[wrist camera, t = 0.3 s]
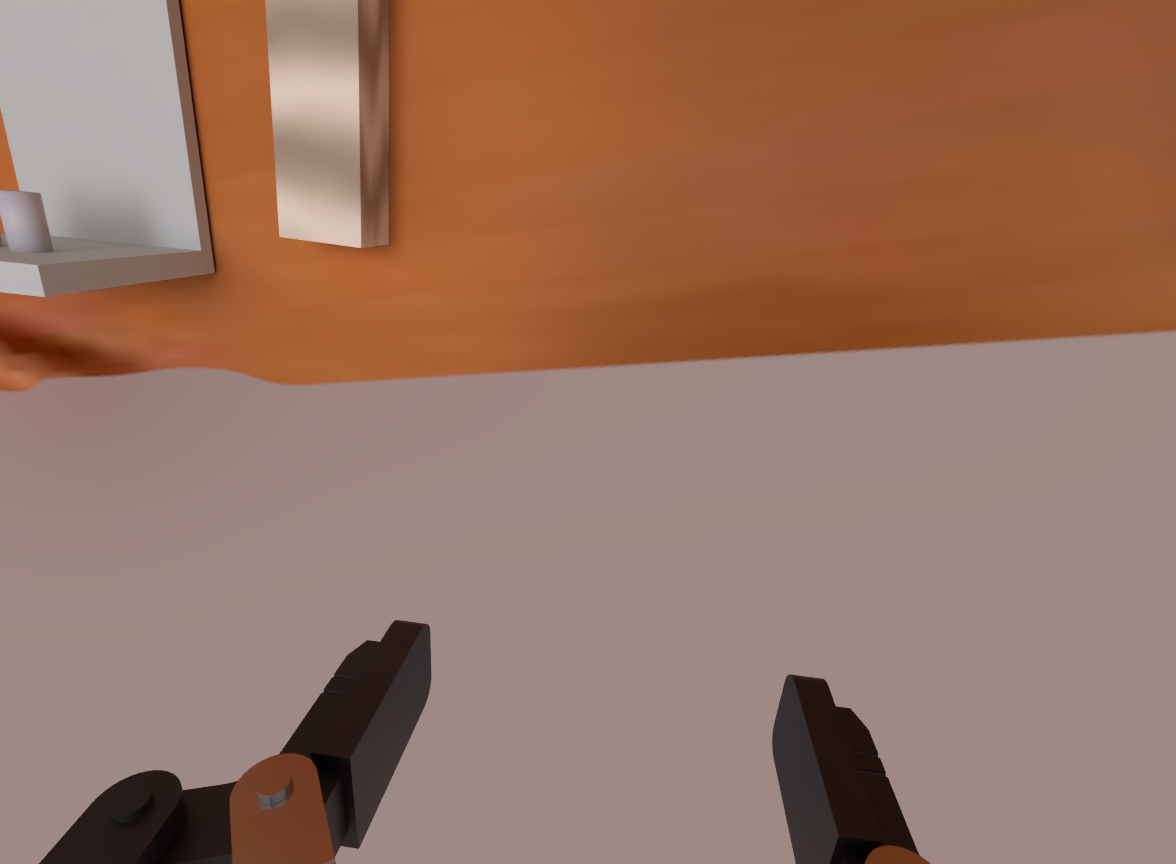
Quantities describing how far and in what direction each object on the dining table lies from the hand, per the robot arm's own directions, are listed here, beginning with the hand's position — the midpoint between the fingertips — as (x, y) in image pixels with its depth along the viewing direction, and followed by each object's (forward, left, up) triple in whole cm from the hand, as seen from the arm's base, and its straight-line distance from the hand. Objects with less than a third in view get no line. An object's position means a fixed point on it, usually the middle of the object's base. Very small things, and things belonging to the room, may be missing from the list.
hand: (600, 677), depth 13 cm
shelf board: (-17, -19, -28) cm, 38 cm away
